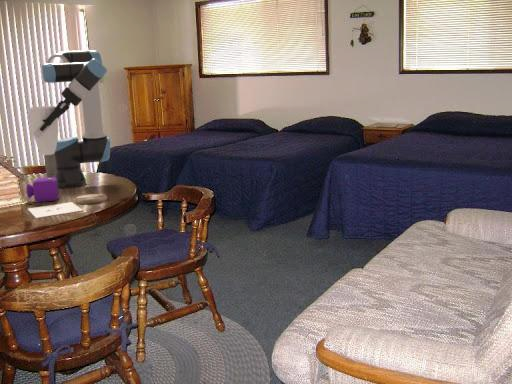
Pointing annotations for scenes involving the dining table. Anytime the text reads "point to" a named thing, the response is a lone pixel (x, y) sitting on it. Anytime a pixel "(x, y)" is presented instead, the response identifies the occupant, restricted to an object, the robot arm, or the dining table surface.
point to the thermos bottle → (50, 165)
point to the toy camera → (43, 189)
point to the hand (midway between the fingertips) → (37, 135)
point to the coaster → (91, 198)
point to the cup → (50, 136)
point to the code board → (54, 210)
